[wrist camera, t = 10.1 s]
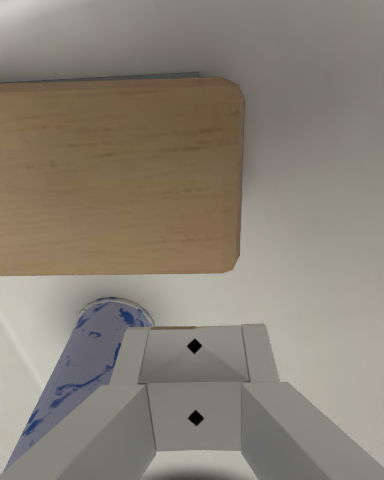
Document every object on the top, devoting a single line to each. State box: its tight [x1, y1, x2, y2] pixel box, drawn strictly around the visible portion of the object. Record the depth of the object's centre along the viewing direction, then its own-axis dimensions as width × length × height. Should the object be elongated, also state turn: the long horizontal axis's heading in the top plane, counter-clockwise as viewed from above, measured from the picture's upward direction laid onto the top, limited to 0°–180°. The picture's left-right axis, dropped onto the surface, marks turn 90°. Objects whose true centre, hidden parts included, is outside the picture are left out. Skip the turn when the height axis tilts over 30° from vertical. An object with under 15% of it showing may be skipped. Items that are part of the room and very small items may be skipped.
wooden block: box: [0, 77, 245, 276], centre depth 22 cm, size 10×10×20 cm
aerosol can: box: [3, 297, 155, 472], centre depth 25 cm, size 8×8×20 cm
